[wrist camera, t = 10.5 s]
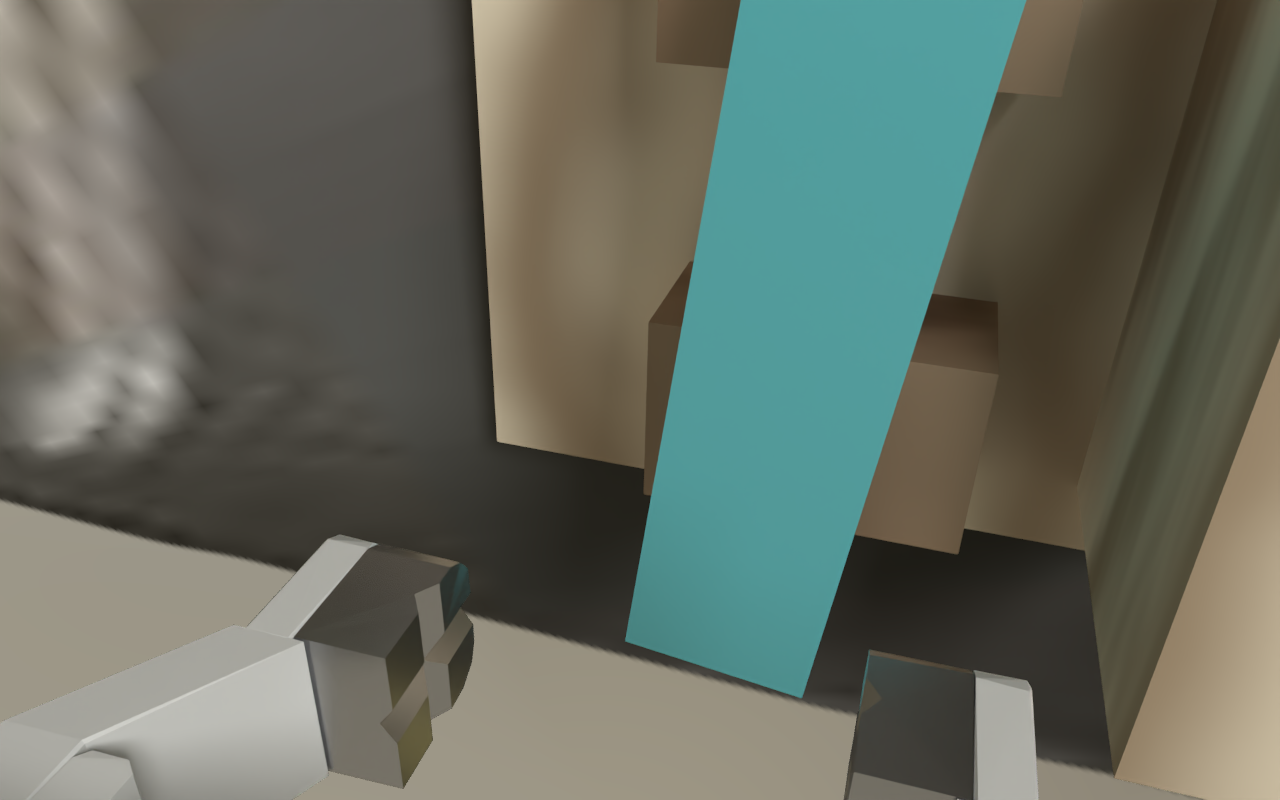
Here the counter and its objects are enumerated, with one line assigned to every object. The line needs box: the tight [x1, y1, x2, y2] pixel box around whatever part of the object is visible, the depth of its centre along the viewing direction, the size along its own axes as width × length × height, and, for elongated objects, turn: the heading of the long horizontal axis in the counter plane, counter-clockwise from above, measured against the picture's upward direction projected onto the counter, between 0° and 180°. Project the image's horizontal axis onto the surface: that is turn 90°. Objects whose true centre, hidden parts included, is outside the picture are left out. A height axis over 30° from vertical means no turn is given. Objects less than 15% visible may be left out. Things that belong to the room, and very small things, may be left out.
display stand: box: [472, 0, 1280, 800], centre depth 22 cm, size 20×20×12 cm
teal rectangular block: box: [625, 0, 1026, 698], centre depth 20 cm, size 4×16×5 cm, turn 172°
